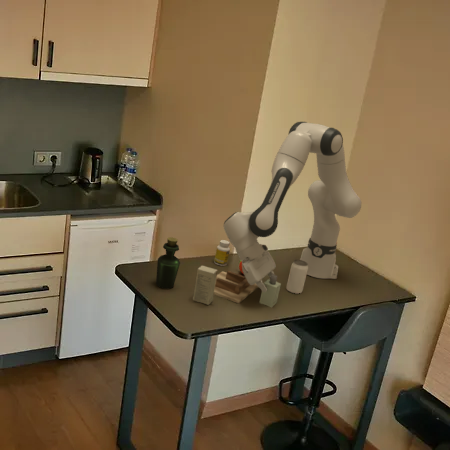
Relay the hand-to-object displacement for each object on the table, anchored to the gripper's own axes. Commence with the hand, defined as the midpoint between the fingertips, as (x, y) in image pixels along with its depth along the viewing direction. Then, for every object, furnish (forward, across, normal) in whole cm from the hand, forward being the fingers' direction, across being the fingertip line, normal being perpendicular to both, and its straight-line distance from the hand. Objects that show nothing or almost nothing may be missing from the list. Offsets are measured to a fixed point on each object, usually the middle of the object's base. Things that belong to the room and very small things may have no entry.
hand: (270, 287), depth 223 cm
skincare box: (-8, -17, +18) cm, 26 cm away
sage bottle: (+5, 0, +4) cm, 6 cm away
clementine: (-7, +18, +16) cm, 25 cm away
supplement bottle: (-16, +20, +25) cm, 36 cm away
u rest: (-7, +1, +15) cm, 17 cm away
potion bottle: (-20, -16, +29) cm, 39 cm away
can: (+8, +19, +1) cm, 21 cm away
